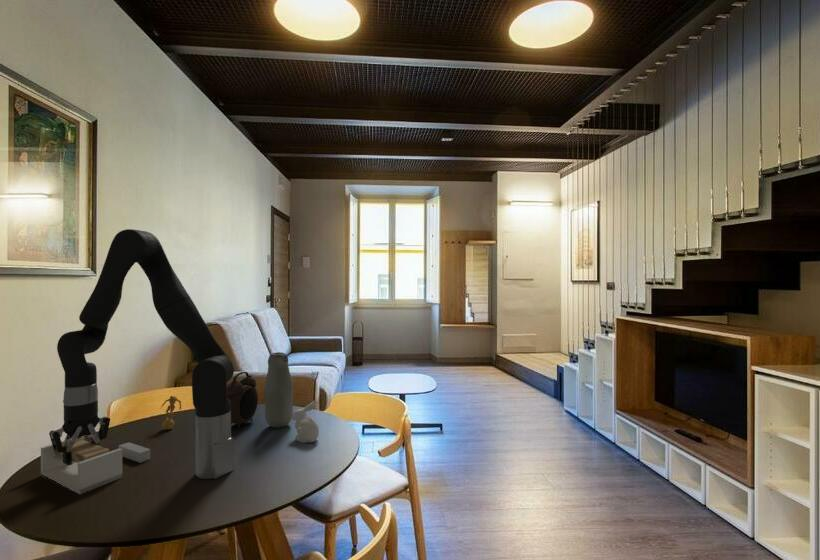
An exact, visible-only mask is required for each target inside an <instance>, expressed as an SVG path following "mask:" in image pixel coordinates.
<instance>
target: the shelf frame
mask: <svg viewBox="0 0 820 560" xmlns="http://www.w3.org/2000/svg"><path fill="white" fill-rule="evenodd" d="M79 439H82V440H84V441H85V436H82V437H80V438H79ZM61 442H64V440H61ZM41 474H42V475H44V476H46V477H48V478H49V479H52V480H54V481H56V482H57V483H59V484H61V485H60V486H62V485H63V486H62V487H64V486H65V487H64V488H66V487H67V488H66V489H68V488H69V489H68V490H70V491H73V492H74V493H76V494H78V495H82V494H85V493H87V491H88V492H90V491H92V490H95V489H98V488H100V487H102V486H105V485H107V484H110V483H112V482H114V481H115V482H116V481H118V480H120V479H122V478H123V457H122V449H121V448H119V449H118V448H116V449H114V450H111V451H109V452H108V453H105V454H102V455H99V456H96V457H93V458H90V459H87V460H84V461H81V462H78V463H77V462H74V461H72V465H69V466H68V465H66V464H64V463H63V457H62V456H59V455H57V454H54V449H53V446H52V443H51V444H48V445H45V446H42V447H40V475H41ZM49 479H48V480H49ZM57 483H56V484H57ZM59 484H58V485H59Z"/></svg>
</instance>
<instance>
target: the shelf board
mask: <svg viewBox="0 0 820 560" xmlns="http://www.w3.org/2000/svg"><path fill="white" fill-rule="evenodd" d="M63 441H64V440H63ZM64 442H65V441H64ZM64 442H62V446H63V445H64ZM108 452H110V448H107V447H104V446H102V445H100V444H99V445H96V444H93V443H92V442H90V441H87V440H85V439H84V440H82V439H79V438H77V440H76V442H75V443H74V445H73V447H72V449H71V457H72V461H74V462H77V463H78V462H81V461H84V460H87V459H90V458H93V457H96V456H99V455H102V454H105V453H108ZM54 454H57V455H59V456H62V457H63V453H62V452H61V453H59V452H56V451H54Z"/></svg>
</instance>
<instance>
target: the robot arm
mask: <svg viewBox="0 0 820 560" xmlns="http://www.w3.org/2000/svg"><path fill="white" fill-rule="evenodd" d="M136 263H137V264H138V265H139V267H140V268H141V269H142V271H143V272H144V274H145V276H146V277H147V279H148V281H149V283H150V288H151V296H152V301H153V306H154V309H155V310H156V312H157V314H158V316H159V317H160V320H161V321H162V323H163V324H164V326H165V327H166V329H168V331H170V332H171V333H172V335H174V336H175V337H176V338H178V339H179V340H180V341H181V342H182V343H183V344H185V345H186V347H187V348H188V349H189V350H190V351H191V352H192V354H193V356H194V358H195V359H196V361H197V364H196V365H195V367H194V369H193V371H192V374H191V391H192V392H191V394H192V396H191V397H192V405H193V407H194V409H195V410H194V411H195V476H196V477H197V478H199V479H203V480H209V479H213V480H216V479H218V478H221V477H222V476H225V475H226V474H228V473H230V472H232V471H234V438H233V437H232V424H231V402H230V400H229V399H228V398H227V386H228V382H230V380H231V379H233V375H234V373H235V370H234V364H233V362H232V359H230V357H229V356H228V354H227V353H226V352H225V351H224V349H223V348H222V347H221V346H220V344H219V343H218V341H217V340H216V339H215V337H214V335H213V334H212V333H211V330H210V328H209V327H208V325H207V324H206V321H205V320H204V318H203V317H202V315H201V313H200V312H199V310H198V308H197V306H196V304H195V302H194V301H193V299H192V298H191V296H190V294H189V293H188V291H187V290H186V289H185V287H184V286H183V284H182V282H181V280H180V278H179V277H178V276H177V274H176V273H175V270H174V269H173V267H172V265H171V263H170V261H169V259H168V256H167V254H166V251H165V250H164V248H163V246H162V243H161V242H160V240H159V239H158V237H156V235H154V234H153V233H152V232H149V231H145V230H141V229H130V228H129V229H128V228H126V229H123V230H120V231H118V232H117V234H115V236H114V237H113V239H112V241H111V243H110V245H109V248H108V252H107V254H106V257H105V260H104V264H103V266H102V269H101V272H100V275H99V277H98V280H97V282H96V284H95V286H94V289H93V290H92V293H91V294H90V295H89V298H88V300H87V301H86V303H85V305H84V306H83V308H82V310H81V311H80V314H79V316H78V317H79V322H80V323H81V324H83V328H82V329H78V330H73V331H68V332H65V333H63V334H62V335H61V336H60V338H58V339H59V340H58V342H57V345H56V346H57V347H56V350H57V355H58V358H59V360H60V362H61V367H62V369H63V371H64V391H63V400H62V403H63V425H62V426H61V427H60V428H58V429H56V430H50V431H49V433H48V434H49V437H50V442H51V444H52V446H53V449H54V451H56V452H59V453H61V452H62V453H63V463H64V464H66V465H68V466H69V465H72V457H71V449H72V447H73V445H74V443H75V442H76V440H77V438H80V437H82V436H84V437H88V438H89V439H90V441H91V442H90V443H93V444H96V445H99V446H100V442H101V441H103V440H104V439H106V438H107V437H108V432H109V428H110V423H111V418H110V417H107V416H102V417H99V415H98V414H99V389H98V382H97V380H98V377H97V376H98V373H97V372H98V371H97V370H98V369H97V366H96V364H95V363H94V362H89V361H87V360H86V356H85V355H89V354H92V353H94V352H97V351H98V350H99V349H100V348H101V346H103V344H104V342H105V339H106V336H107V333H108V332H107V331H108V327H109V323H110V321H111V320H112V318H113V316H114V314H116V311H117V309H118V307H119V306H120V303H121V299H122V293H123V287H124V286H123V285H124V282H125V279H126V277H127V275H128V272H130V271H131V269H132V268H133V266H134V265H135V264H136ZM97 425H99V427H98V428H99V429H98V433H97V431H96V429H95V428H96V427H97ZM64 433H65V434H66V436H65V438H64V440H63V441H65V442H64V445H63V446H62V442H61V441H62V440H61V438H62V437H63V434H64Z"/></svg>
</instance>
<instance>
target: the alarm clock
mask: <svg viewBox="0 0 820 560" xmlns="http://www.w3.org/2000/svg"><path fill="white" fill-rule="evenodd" d="M243 374H245V376H246V377H243V378H242V379H241V380H239V381H238V380H237V379H238V377H239V376H241V375H243ZM256 387H257V380H256V379H255V378H253V377H252V374H249V372H247V371H241V372H238V373H237V374H235V375H234V377H233V378H232V381H230V382H229V383H228V384H227V398H228V399H229V400H230V402H231V425H232V424H237V430H239V429H240V426H241V424H247V423H248V422H254V419H253V417H254V416H255V413H256V411H257V408H258V403H259V397H258V396H259V395H258V391H257V390H256Z"/></svg>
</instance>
